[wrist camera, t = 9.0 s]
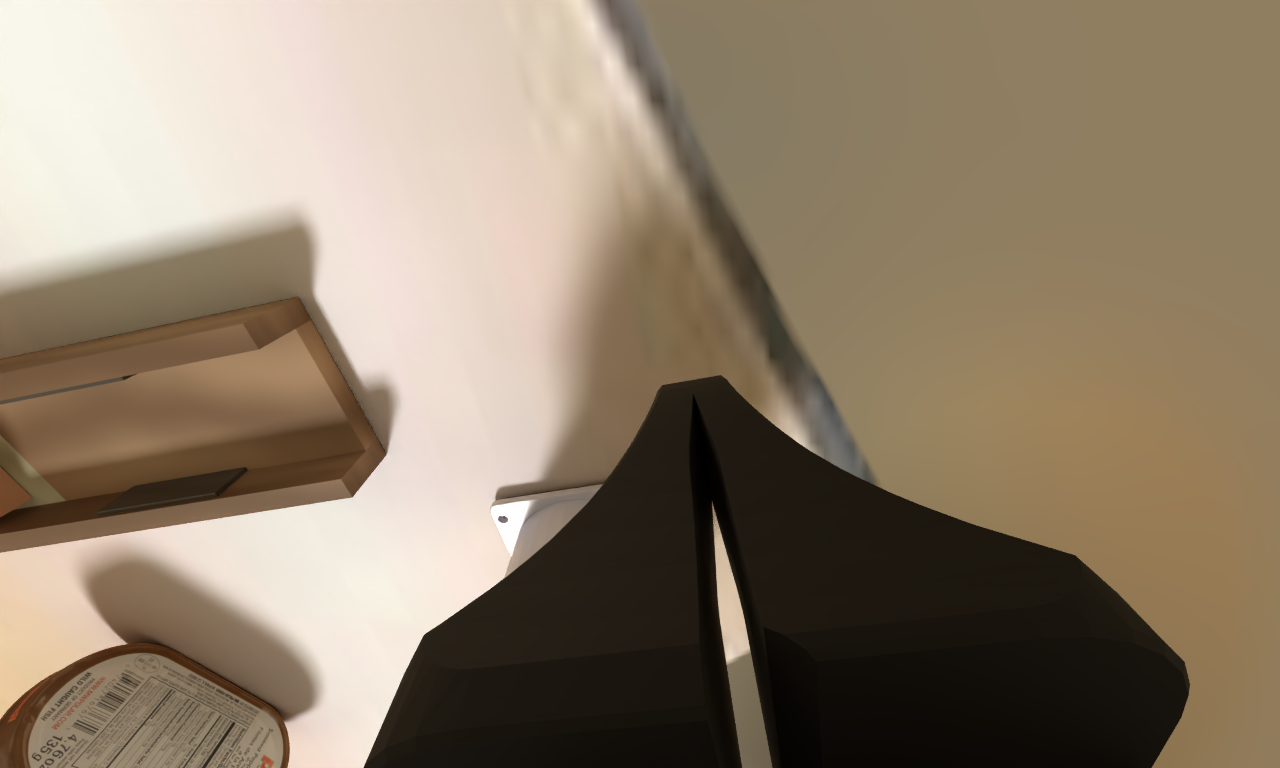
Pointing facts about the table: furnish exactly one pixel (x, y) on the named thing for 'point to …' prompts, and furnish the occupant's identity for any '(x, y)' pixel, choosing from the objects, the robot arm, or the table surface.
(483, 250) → the table surface
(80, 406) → the chute
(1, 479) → the block
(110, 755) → the tin
